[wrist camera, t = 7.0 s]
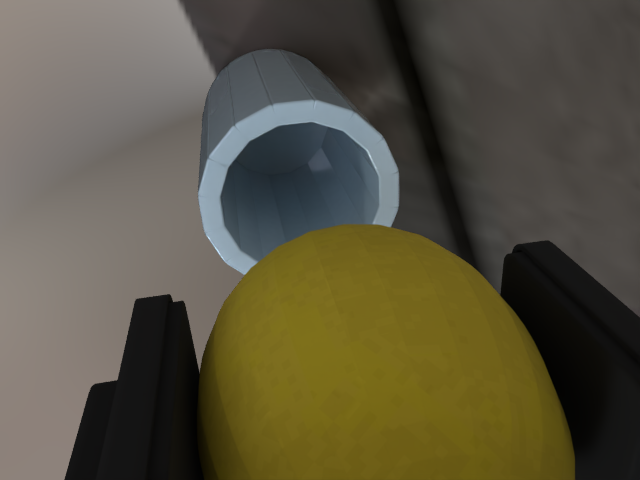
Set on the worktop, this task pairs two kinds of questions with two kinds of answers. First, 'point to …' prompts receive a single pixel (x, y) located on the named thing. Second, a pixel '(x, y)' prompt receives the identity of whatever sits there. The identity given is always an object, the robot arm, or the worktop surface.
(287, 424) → the lemon
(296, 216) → the cup
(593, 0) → the worktop surface
